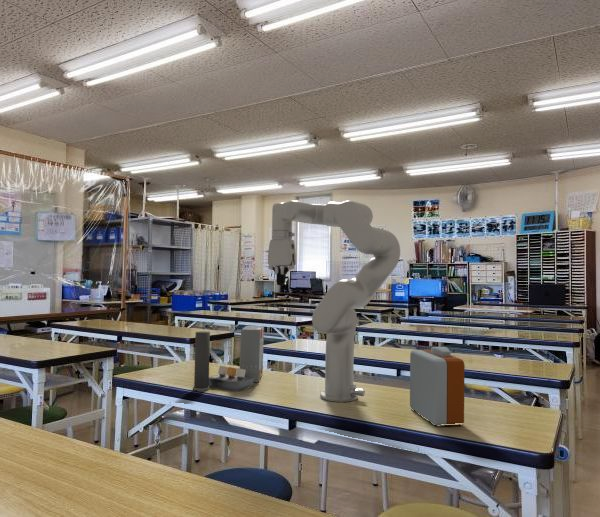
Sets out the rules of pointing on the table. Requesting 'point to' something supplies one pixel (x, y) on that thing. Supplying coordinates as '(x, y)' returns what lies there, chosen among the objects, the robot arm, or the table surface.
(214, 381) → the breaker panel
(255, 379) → the hard drive box
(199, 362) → the dark grey tall block
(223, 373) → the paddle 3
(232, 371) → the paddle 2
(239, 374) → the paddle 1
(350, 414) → the table surface
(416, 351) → the grey and brown block
